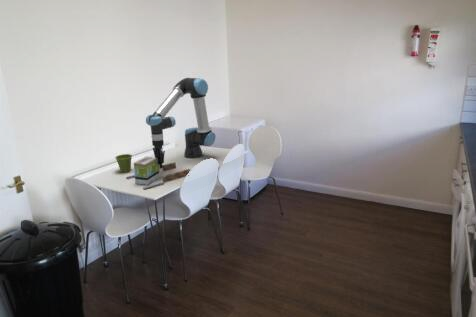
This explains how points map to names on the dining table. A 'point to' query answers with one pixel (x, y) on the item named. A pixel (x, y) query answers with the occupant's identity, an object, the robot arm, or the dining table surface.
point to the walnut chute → (173, 175)
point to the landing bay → (147, 186)
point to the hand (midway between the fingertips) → (160, 172)
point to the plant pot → (124, 162)
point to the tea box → (146, 170)
